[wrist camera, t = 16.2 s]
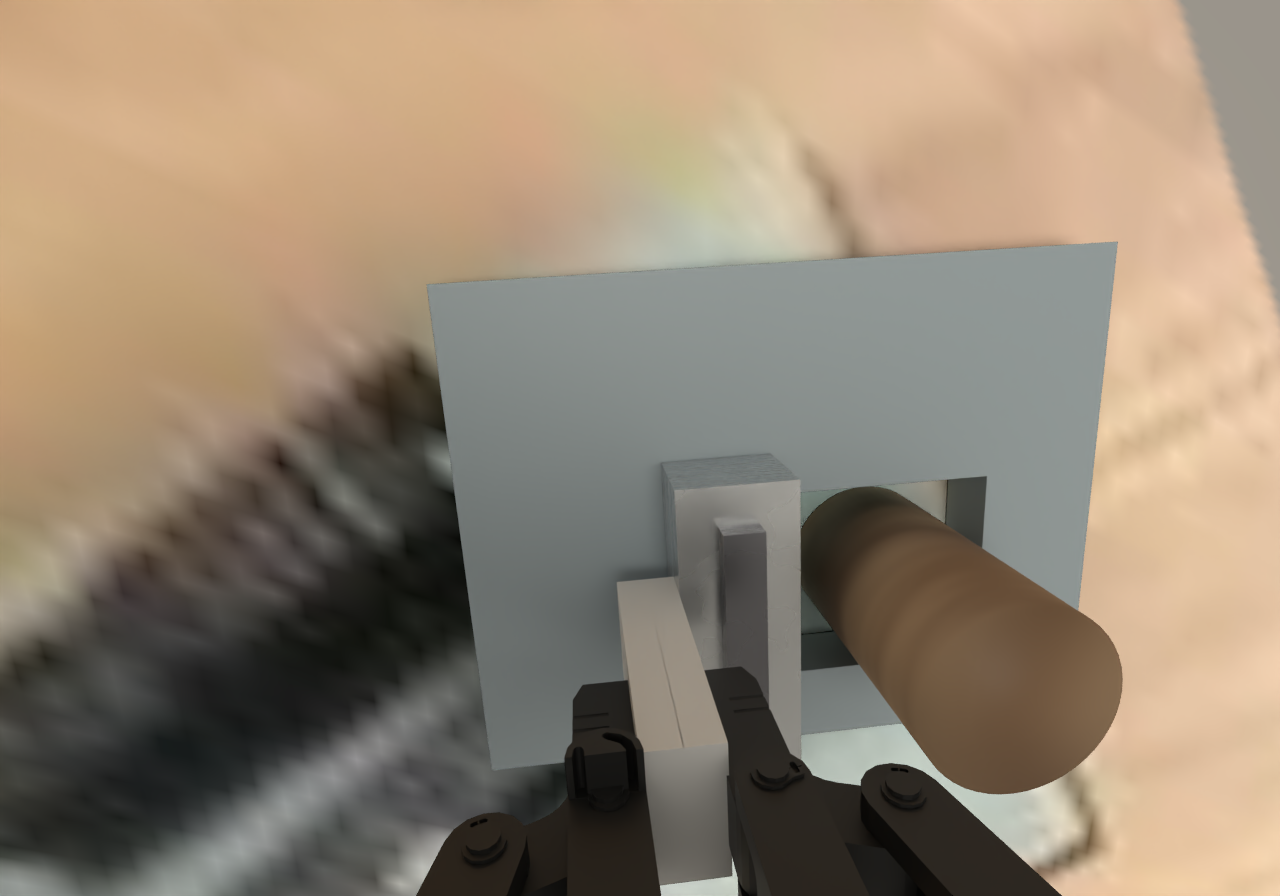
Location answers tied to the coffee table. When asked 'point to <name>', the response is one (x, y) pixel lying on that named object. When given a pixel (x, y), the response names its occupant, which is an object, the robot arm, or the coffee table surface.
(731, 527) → the bar
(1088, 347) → the housing plate
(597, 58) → the coffee table surface
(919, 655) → the walnut peg
